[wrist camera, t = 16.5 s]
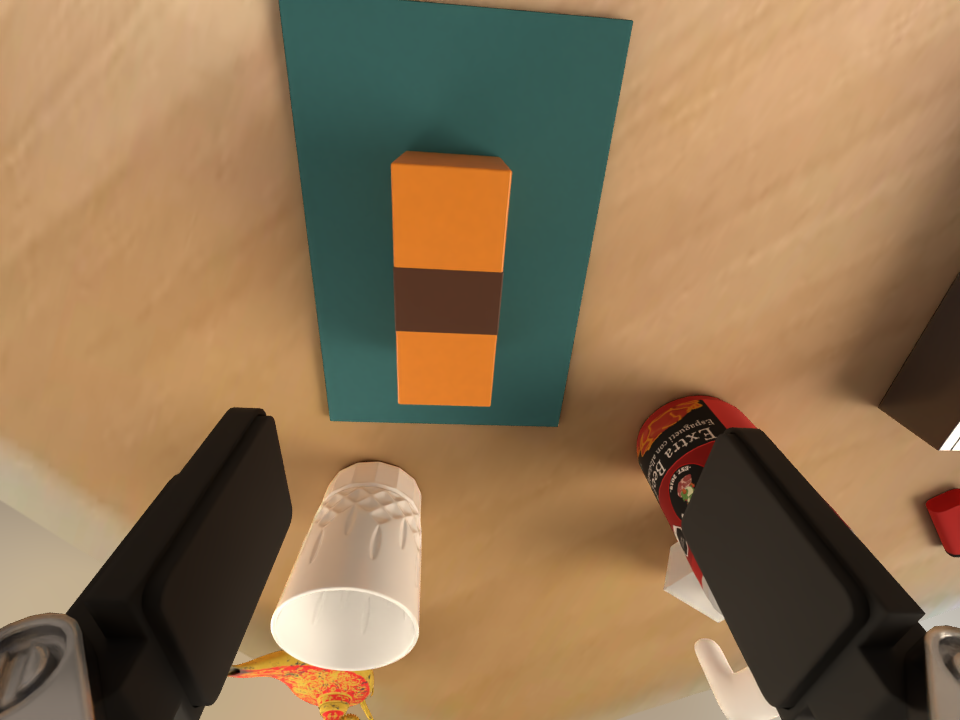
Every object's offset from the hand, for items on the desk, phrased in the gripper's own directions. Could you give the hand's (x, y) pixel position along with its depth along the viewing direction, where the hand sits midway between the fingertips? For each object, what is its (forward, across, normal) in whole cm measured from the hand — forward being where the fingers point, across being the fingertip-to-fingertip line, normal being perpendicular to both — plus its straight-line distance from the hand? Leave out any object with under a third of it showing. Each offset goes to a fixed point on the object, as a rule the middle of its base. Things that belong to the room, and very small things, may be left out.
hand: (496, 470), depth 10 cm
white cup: (+17, +6, +19) cm, 26 cm away
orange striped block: (+16, +2, +1) cm, 17 cm away
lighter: (+18, -41, +20) cm, 49 cm away
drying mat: (+17, +1, +1) cm, 17 cm away
